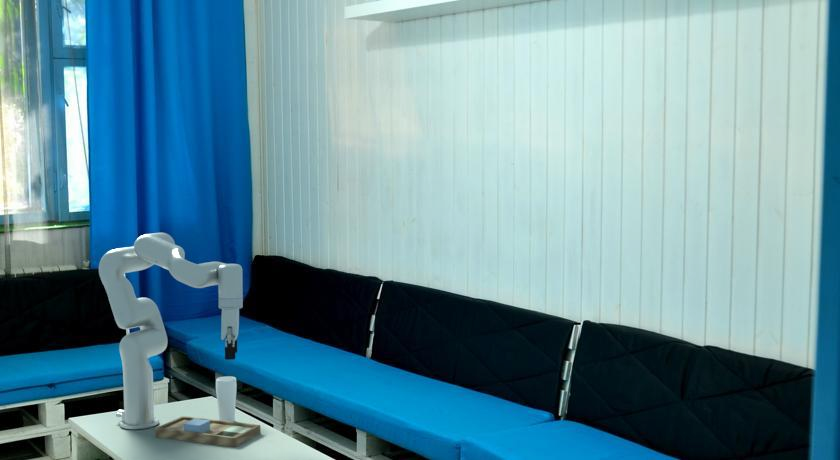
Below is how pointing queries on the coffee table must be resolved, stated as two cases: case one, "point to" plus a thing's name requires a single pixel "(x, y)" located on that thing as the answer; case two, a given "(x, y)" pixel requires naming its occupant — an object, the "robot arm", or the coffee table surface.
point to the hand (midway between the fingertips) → (231, 355)
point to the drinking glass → (226, 398)
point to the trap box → (210, 432)
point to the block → (197, 425)
